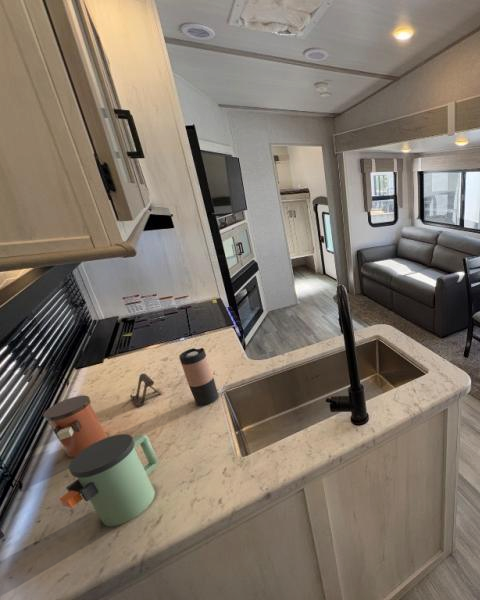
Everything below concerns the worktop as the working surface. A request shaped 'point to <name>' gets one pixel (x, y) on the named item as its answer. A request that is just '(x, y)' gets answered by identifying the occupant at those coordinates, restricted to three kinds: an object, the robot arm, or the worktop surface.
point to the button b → (65, 433)
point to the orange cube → (71, 498)
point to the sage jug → (115, 477)
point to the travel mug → (199, 376)
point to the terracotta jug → (76, 423)
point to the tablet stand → (148, 383)
